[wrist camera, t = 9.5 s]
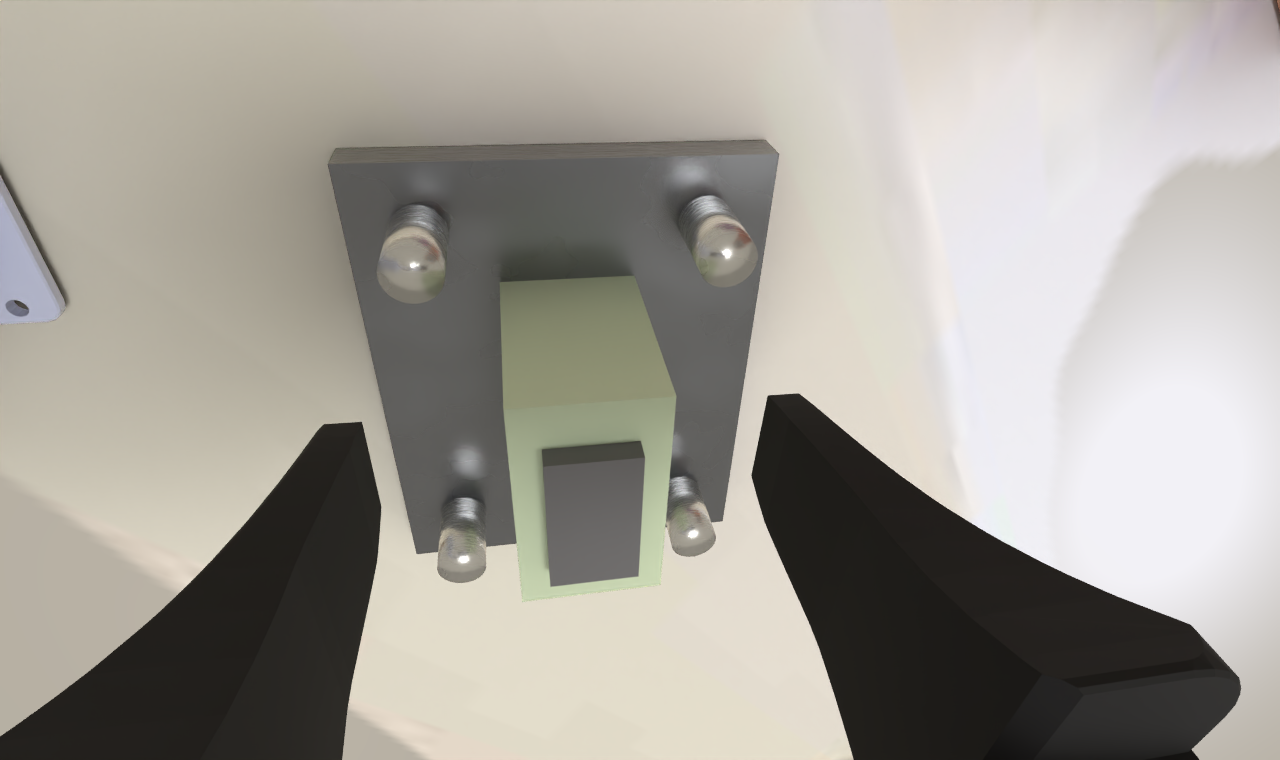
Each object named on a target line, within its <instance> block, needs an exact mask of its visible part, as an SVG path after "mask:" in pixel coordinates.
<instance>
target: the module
mask: <svg viewBox="0 0 1280 760" xmlns="http://www.w3.org/2000/svg"><path fill="white" fill-rule="evenodd" d="M500 312H501V346H502V380H503V411H504V421H505V431H506V441H507V451H508V461H509V471H510V481H511V491H512V502H513V512H514V522H515V532H516V542H517V552H518V562H519V572H520V582H521V592H522V602H525V601H533V600H542V599H550V598H558V597H566V596H575V595H583V594H591V593H599V592H608V591H616V590H624V589H633V588H641V587H649V586H657V585H660V584H661V572H662V560H663V548H664V537H665V525H666V513H667V502H668V490H669V478H670V466H671V455H672V443H673V431H674V420H675V408H676V393H675V390H674V388H673V385H672V382H671V379H670V376H669V373H668V370H667V368H666V365H665V362H664V359H663V356H662V353H661V350H660V348H659V345H658V342H657V339H656V336H655V333H654V330H653V328H652V325H651V322H650V319H649V316H648V313H647V310H646V307H645V305H644V302H643V299H642V296H641V293H640V290H639V287H638V285H637V282H636V279H635V276H614V277H594V278H574V279H553V280H533V281H513V282H500Z"/></svg>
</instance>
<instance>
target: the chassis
mask: <svg viewBox="0 0 1280 760" xmlns="http://www.w3.org/2000/svg"><path fill="white" fill-rule="evenodd" d="M778 158H779V153H778V152H777V151H776V150H775V149H774V148H773V147H772V146H771V145H770V144H769V143H768V142H767V141H766V140H756V141H703V142H650V143H597V144H544V145H491V146H438V147H384V148H336V149H335V151H334V153H333V155H332V157H331V159H330V161H329V163H328V167H329V171H330V175H331V180H332V184H333V189H334V193H335V197H336V202H337V206H338V211H339V215H340V219H341V224H342V228H343V232H344V237H345V241H346V246H347V250H348V254H349V259H350V263H351V268H352V272H353V276H354V281H355V285H356V290H357V294H358V298H359V303H360V307H361V312H362V316H363V320H364V325H365V329H366V333H367V338H368V342H369V347H370V351H371V355H372V360H373V364H374V369H375V373H376V377H377V382H378V386H379V391H380V395H381V399H382V404H383V408H384V412H385V417H386V421H387V426H388V430H389V434H390V439H391V443H392V448H393V452H394V456H395V461H396V465H397V470H398V474H399V478H400V483H401V487H402V492H403V496H404V500H405V505H406V509H407V513H408V518H409V522H410V527H411V531H412V535H413V540H414V544H415V549H416V553H417V554H423V553H432V552H438V566H437V570H438V573H439V575H440V576H441V577H442V578H444V579H446V580H448V581H451V582H455V583H465V582H470V581H473V580H475V579H477V578H479V577H480V576H481V575H482V574H483V573H484V572H485V569H486V547H488V546H497V545H506V544H515V543H517V542H516V532H515V522H514V512H513V502H512V491H511V481H510V471H509V461H508V451H507V441H506V431H505V421H504V411H503V380H502V346H501V312H500V282H513V281H533V280H553V279H574V278H594V277H614V276H635V279H636V282H637V285H638V287H639V290H640V293H641V296H642V299H643V302H644V305H645V307H646V310H647V313H648V316H649V319H650V322H651V325H652V328H653V330H654V333H655V336H656V339H657V342H658V345H659V348H660V350H661V353H662V356H663V359H664V362H665V365H666V368H667V370H668V373H669V376H670V379H671V382H672V385H673V388H674V390H675V393H676V408H675V420H674V431H673V443H672V455H671V466H670V478H669V490H668V502H667V513H666V525H665V527H667V529H668V533H669V537H670V540H671V544H672V548H673V550H674V551H675V552H676V553H677V554H679V555H681V556H688V557H690V556H697V555H700V554H702V553H704V552H706V551H708V550H709V549H710V548H711V547H712V546H713V545H714V543H715V540H716V536H715V532H714V530H713V527H712V524H711V522H720V521H723V515H724V508H725V502H726V495H727V489H728V482H729V476H730V469H731V463H732V456H733V450H734V443H735V437H736V430H737V424H738V417H739V411H740V404H741V398H742V391H743V385H744V378H745V372H746V366H747V359H748V353H749V346H750V340H751V333H752V327H753V320H754V314H755V307H756V301H757V294H758V288H759V281H760V275H761V268H762V262H763V255H764V249H765V242H766V236H767V229H768V223H769V217H770V210H771V204H772V197H773V191H774V184H775V178H776V171H777V165H778Z"/></svg>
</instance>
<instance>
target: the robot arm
mask: <svg viewBox="0 0 1280 760" xmlns="http://www.w3.org/2000/svg"><path fill="white" fill-rule="evenodd" d="M14 300H18V301H20V302H22V303H24V304H25V305H26V306H27V307H28V308H29V309H23V308H21V307H19V306H18V305H17V304H16V303H15V302H14ZM65 307H66V305H65V301H64V299H63V297H62V295H61V293H60V291H59V289H58V287H57V285H56V283H55V281H54V279H53V277H52V275H51V273H50V271H49V269H48V267H47V265H46V264H45V262H44V260H43V258H42V256H41V254H40V252H39V250H38V248H37V246H36V244H35V242H34V240H33V238H32V236H31V234H30V232H29V230H28V228H27V226H26V224H25V222H24V220H23V218H22V217H21V215H20V213H19V211H18V209H17V207H16V205H15V203H14V201H13V199H12V197H11V195H10V193H9V191H8V189H7V187H6V185H5V183H4V181H3V179H2V177H1V175H0V324H18V323H37V322H49V321H54V320H55V319H57V318H58V317H59V316H60V315H61V314H62V313H63V312H64V310H65ZM751 476H752V480H753V483H754V487H755V491H756V494H757V498H758V501H759V505H760V508H761V511H762V515H763V518H764V521H765V524H766V526H767V529H768V531H769V533H770V536H771V538H772V540H773V543H774V545H775V547H776V549H777V552H778V554H779V556H780V559H781V561H782V563H783V565H784V568H785V570H786V572H787V574H788V577H789V579H790V581H791V583H792V585H793V588H794V590H795V592H796V594H797V597H798V599H799V601H800V603H801V606H802V608H803V610H804V612H805V615H806V617H807V619H808V621H809V624H810V626H811V628H812V631H813V634H814V636H815V639H816V641H817V644H818V646H819V649H820V652H821V655H822V658H823V661H824V664H825V667H826V670H827V673H828V676H829V680H830V683H831V686H832V689H833V692H834V695H835V698H836V701H837V705H838V708H839V711H840V715H841V718H842V721H843V725H844V728H845V731H846V735H847V738H848V741H849V745H850V748H851V751H852V755H853V759H854V760H1199V759H1198V757H1197V756H1196V755H1195V754H1194V752H1193V751H1192V750H1191V749H1192V748H1193V747H1194V746H1195V745H1197V744H1198V743H1199V741H1201V740H1202V739H1203V738H1204V737H1205V736H1206V735H1207V734H1208V733H1209V732H1210V731H1211V730H1212V729H1213V728H1214V727H1215V726H1216V725H1217V724H1218V723H1219V722H1220V721H1221V720H1222V719H1223V718H1224V717H1225V716H1226V715H1227V714H1228V713H1229V712H1230V710H1231V709H1232V708H1233V707H1234V706H1235V704H1236V702H1237V700H1238V698H1239V695H1240V691H1241V685H1240V680H1239V677H1238V676H1237V675H1236V674H1235V673H1234V672H1233V671H1232V670H1231V669H1230V667H1229V666H1228V665H1227V664H1226V663H1225V662H1224V661H1223V660H1222V659H1221V657H1219V655H1218V654H1217V653H1216V652H1215V651H1214V650H1213V649H1212V648H1211V646H1209V644H1208V643H1207V642H1206V641H1205V640H1204V639H1203V638H1202V637H1201V636H1200V634H1199V633H1198V632H1197V631H1196V630H1195V629H1194V628H1193V627H1192V626H1191V625H1190V624H1187V623H1185V622H1182V621H1179V620H1177V619H1174V618H1172V617H1169V616H1166V615H1164V614H1161V613H1159V612H1156V611H1153V610H1151V609H1148V608H1145V607H1143V606H1140V605H1137V604H1135V603H1133V602H1130V601H1127V600H1125V599H1122V598H1119V597H1117V596H1115V595H1112V594H1110V593H1107V592H1105V591H1103V590H1101V589H1098V588H1096V587H1094V586H1092V585H1090V584H1087V583H1085V582H1083V581H1080V580H1078V579H1076V578H1074V577H1072V576H1069V575H1067V574H1065V573H1063V572H1061V571H1059V570H1057V569H1055V568H1053V567H1051V566H1048V565H1046V564H1044V563H1042V562H1040V561H1038V560H1036V559H1035V558H1033V557H1031V556H1029V555H1027V554H1025V553H1023V552H1021V551H1019V550H1017V549H1016V548H1014V547H1012V546H1010V545H1008V544H1006V543H1004V542H1002V541H1001V540H999V539H997V538H995V537H994V536H992V535H990V534H988V533H986V532H985V531H983V530H981V529H980V528H978V527H976V526H975V525H973V524H972V523H970V522H968V521H967V520H965V519H963V518H962V517H960V516H959V515H957V514H955V513H954V512H952V511H951V510H949V509H947V508H946V507H944V506H943V505H941V504H940V503H938V502H937V501H935V500H934V499H932V498H931V497H929V496H928V495H927V494H925V493H924V492H922V491H921V490H920V489H918V488H917V487H915V486H914V485H913V484H911V483H910V482H909V481H907V480H906V479H904V478H903V477H902V476H900V475H899V474H898V473H896V472H895V471H894V470H892V469H891V468H890V467H888V466H887V465H886V464H885V463H883V462H882V461H881V460H879V459H878V458H877V457H876V456H874V455H873V454H872V453H871V452H869V451H868V450H867V449H866V448H864V447H863V446H862V445H861V444H859V443H858V442H857V441H856V440H855V439H853V438H852V437H851V436H850V435H849V434H847V433H846V432H845V431H844V430H843V429H841V428H840V427H839V426H838V425H837V424H835V423H834V422H833V421H832V420H831V419H829V418H828V417H827V416H826V415H825V414H824V413H822V412H821V411H820V410H819V409H818V408H816V407H815V406H814V405H813V404H811V403H810V402H809V401H808V400H807V399H805V398H804V397H803V396H801V395H800V394H784V395H769V396H768V397H767V402H766V407H765V412H764V417H763V422H762V427H761V431H760V436H759V441H758V446H757V451H756V456H755V461H754V466H753V470H752V475H751ZM380 519H381V504H380V499H379V495H378V490H377V486H376V482H375V477H374V473H373V469H372V464H371V460H370V455H369V451H368V447H367V442H366V438H365V433H364V429H363V425H362V422H354V423H338V424H324V425H323V426H322V427H321V428H320V429H319V430H318V431H317V432H316V434H315V435H314V436H313V438H312V439H311V440H310V442H309V443H308V445H307V446H306V447H305V449H304V450H303V451H302V453H301V454H300V455H299V457H298V458H297V459H296V461H295V462H294V463H293V465H292V466H291V467H290V469H289V470H288V471H287V473H286V474H285V475H284V476H283V478H282V479H281V480H280V482H279V483H278V484H277V485H276V487H275V488H274V489H273V490H272V492H271V493H270V494H269V495H268V496H267V498H266V499H265V500H264V501H263V503H262V504H261V505H260V506H259V508H258V509H257V510H256V511H255V512H254V514H253V515H252V516H251V517H250V518H249V520H248V521H247V522H246V523H245V524H244V525H243V527H242V528H241V529H240V530H239V531H238V532H237V533H236V534H235V535H234V536H233V538H232V539H231V540H230V541H229V542H228V543H227V544H226V545H225V546H224V548H223V549H222V550H221V551H220V552H219V553H218V554H217V555H216V556H215V558H214V559H213V560H212V561H211V562H210V563H209V564H208V565H207V566H206V567H205V568H204V569H203V570H202V571H201V572H200V573H199V574H198V575H197V576H196V577H195V578H194V579H193V580H192V581H191V582H190V583H189V584H188V585H187V586H186V587H185V588H184V589H183V590H182V591H181V592H180V593H179V594H178V595H177V596H176V597H175V598H174V599H173V600H172V601H171V602H170V603H168V604H167V605H166V606H165V607H164V608H163V609H162V610H161V611H160V612H159V613H158V614H157V615H156V616H155V617H153V618H152V619H151V620H150V621H149V622H148V623H147V624H145V625H144V626H143V627H142V628H141V629H140V630H138V631H137V632H136V633H135V634H134V635H132V636H131V637H130V638H129V639H128V640H126V641H125V642H124V643H123V644H122V645H120V646H119V647H118V648H117V649H116V650H114V651H113V652H112V653H111V654H110V655H108V656H107V657H106V658H105V659H104V660H103V661H101V662H100V663H99V664H98V665H96V666H95V667H94V668H93V669H91V671H89V672H88V673H87V674H85V675H84V676H83V677H81V678H80V679H79V680H77V681H76V682H75V683H73V684H72V685H71V686H69V687H68V688H67V689H65V690H64V691H63V692H62V693H60V694H59V695H58V696H56V697H55V698H54V699H52V700H51V701H49V702H48V703H47V704H45V705H44V706H42V707H41V708H40V709H38V710H37V711H36V712H34V713H33V714H31V715H30V716H29V717H27V718H26V719H24V720H23V721H22V722H21V723H19V724H18V725H16V726H15V727H13V728H12V729H10V730H9V731H8V732H6V733H5V734H3V735H2V736H0V760H342V755H343V745H344V736H345V726H346V717H347V708H348V702H349V696H350V690H351V684H352V679H353V674H354V670H355V665H356V660H357V655H358V651H359V646H360V641H361V636H362V632H363V627H364V622H365V618H366V613H367V608H368V603H369V599H370V594H371V589H372V584H373V579H374V574H375V569H376V564H377V557H378V545H379V533H380Z"/></svg>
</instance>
